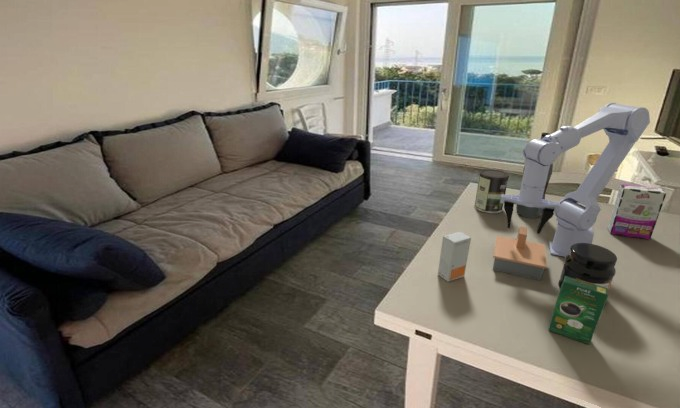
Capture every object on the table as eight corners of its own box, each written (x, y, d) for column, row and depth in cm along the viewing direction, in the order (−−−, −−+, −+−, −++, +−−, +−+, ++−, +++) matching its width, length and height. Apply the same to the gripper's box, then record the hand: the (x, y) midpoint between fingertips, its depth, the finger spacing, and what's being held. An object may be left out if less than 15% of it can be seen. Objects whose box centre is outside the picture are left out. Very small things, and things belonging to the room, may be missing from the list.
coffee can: (505, 207, 145) (512, 172, 139) (497, 215, 137) (504, 179, 131) (479, 200, 150) (484, 167, 145) (470, 208, 143) (475, 173, 137)
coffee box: (591, 337, 80) (609, 286, 75) (591, 346, 78) (609, 294, 73) (549, 323, 84) (563, 274, 79) (547, 331, 82) (562, 280, 77)
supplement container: (606, 312, 88) (621, 268, 83) (555, 297, 93) (567, 255, 88) (605, 289, 96) (618, 248, 91) (558, 276, 101) (569, 237, 96)
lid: (543, 248, 108) (548, 230, 106) (545, 271, 98) (550, 251, 95) (496, 239, 113) (499, 222, 111) (492, 260, 103) (496, 241, 100)
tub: (539, 258, 109) (542, 246, 108) (540, 280, 99) (544, 267, 98) (495, 249, 114) (498, 238, 113) (492, 269, 104) (495, 257, 102)
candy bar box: (645, 233, 124) (662, 187, 118) (650, 240, 120) (668, 193, 114) (606, 228, 128) (620, 183, 122) (609, 234, 124) (624, 188, 118)
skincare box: (448, 282, 98) (453, 242, 93) (437, 274, 102) (442, 235, 97) (465, 276, 101) (471, 237, 96) (454, 269, 104) (459, 230, 100)
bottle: (511, 207, 144) (527, 130, 132) (536, 209, 143) (554, 131, 131) (518, 218, 135) (536, 135, 124) (545, 219, 134) (565, 137, 122)
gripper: (503, 185, 100) (495, 230, 105) (565, 193, 95) (552, 240, 100) (504, 177, 106) (496, 220, 111) (563, 185, 100) (551, 230, 106)
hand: (523, 229), depth 106 cm, fingers open, 7 cm apart
